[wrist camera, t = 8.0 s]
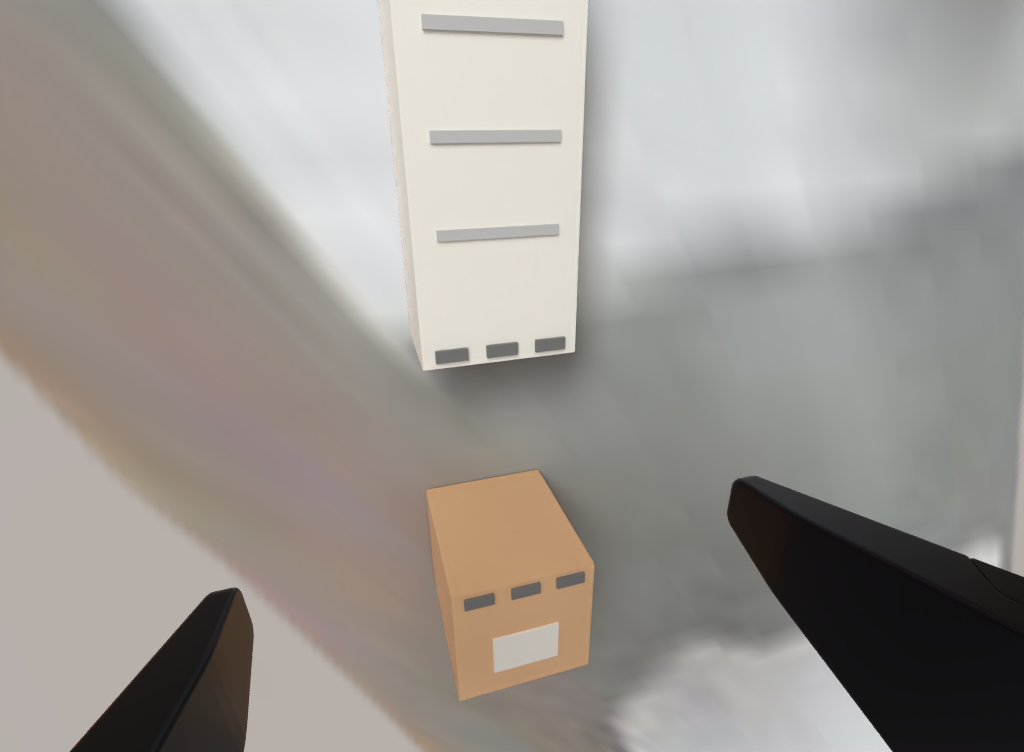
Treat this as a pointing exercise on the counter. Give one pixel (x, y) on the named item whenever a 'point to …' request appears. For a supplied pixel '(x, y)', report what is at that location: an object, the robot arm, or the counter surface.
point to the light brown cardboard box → (509, 582)
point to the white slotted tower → (487, 172)
